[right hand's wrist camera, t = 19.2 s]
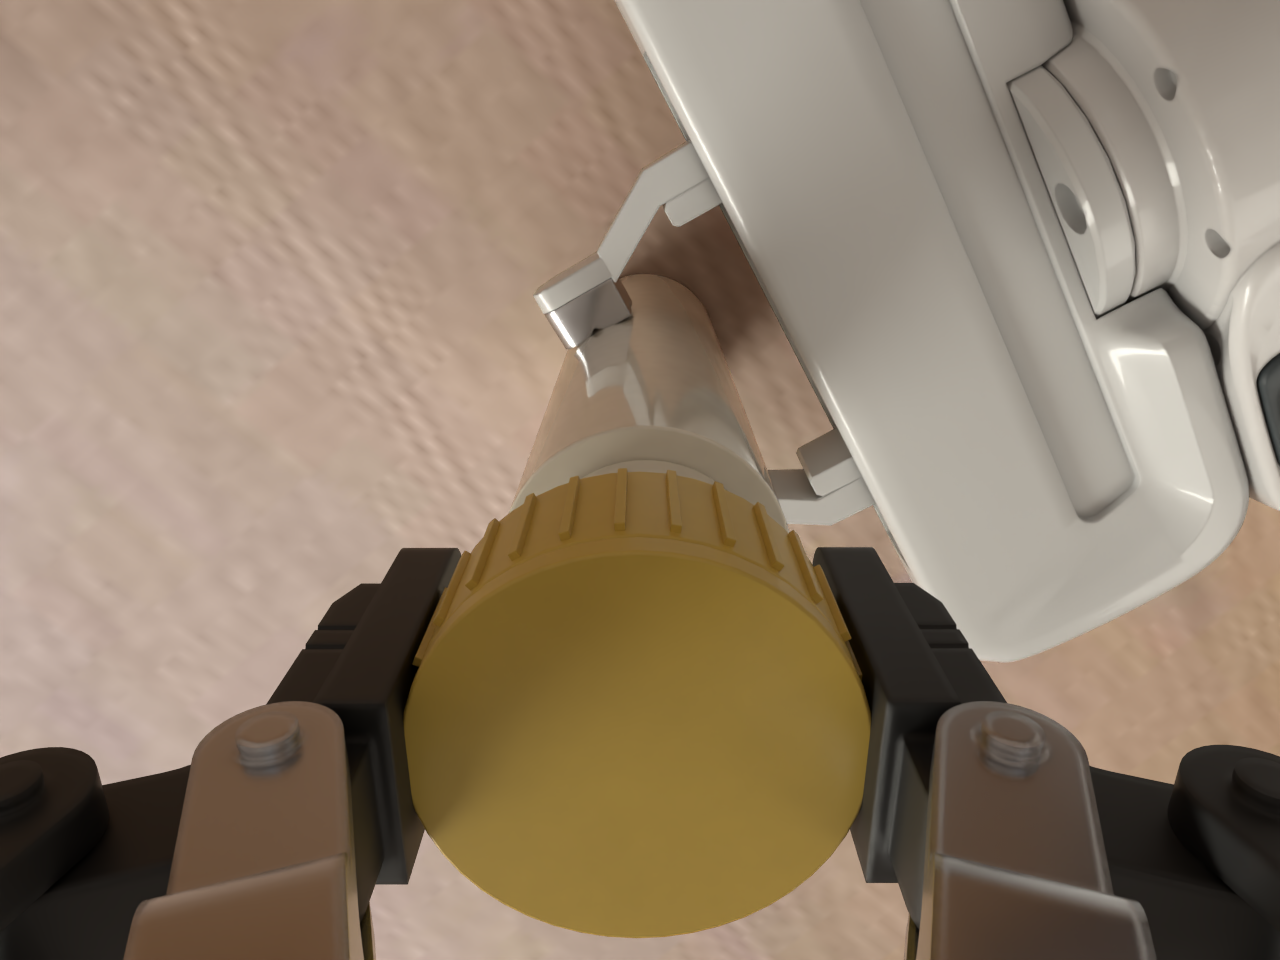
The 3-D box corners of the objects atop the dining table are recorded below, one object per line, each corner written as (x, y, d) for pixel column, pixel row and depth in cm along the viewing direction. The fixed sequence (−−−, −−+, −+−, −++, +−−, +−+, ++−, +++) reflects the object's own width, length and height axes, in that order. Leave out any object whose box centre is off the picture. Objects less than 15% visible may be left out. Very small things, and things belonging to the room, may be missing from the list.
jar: (627, 436, 28) (606, 817, 12) (546, 327, 27) (408, 592, 11) (740, 361, 28) (876, 667, 12) (663, 244, 26) (694, 404, 10)
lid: (897, 523, 10) (959, 615, 8) (764, 842, 12) (789, 981, 10) (483, 416, 10) (442, 487, 8) (406, 764, 12) (358, 893, 10)
